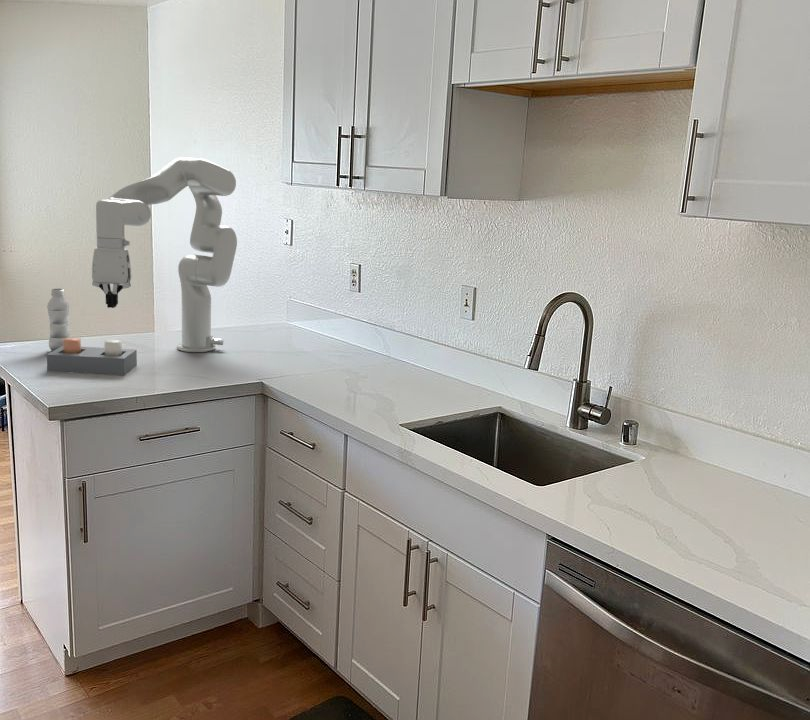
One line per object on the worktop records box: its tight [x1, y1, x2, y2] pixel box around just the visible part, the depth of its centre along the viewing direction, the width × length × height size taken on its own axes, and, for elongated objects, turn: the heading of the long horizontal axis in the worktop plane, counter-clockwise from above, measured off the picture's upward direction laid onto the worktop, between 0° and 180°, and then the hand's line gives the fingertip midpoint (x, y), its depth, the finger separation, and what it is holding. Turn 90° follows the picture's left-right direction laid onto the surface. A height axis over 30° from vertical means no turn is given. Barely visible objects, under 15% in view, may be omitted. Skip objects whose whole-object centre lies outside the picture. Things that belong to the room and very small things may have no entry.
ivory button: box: [103, 339, 123, 356], centre depth 234 cm, size 5×5×5 cm
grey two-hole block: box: [46, 346, 138, 376], centre depth 234 cm, size 22×12×5 cm, turn 92°
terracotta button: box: [63, 337, 82, 354], centre depth 233 cm, size 5×5×5 cm
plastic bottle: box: [46, 288, 71, 352], centre depth 250 cm, size 6×7×20 cm
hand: (111, 306), depth 231 cm, fingers closed
